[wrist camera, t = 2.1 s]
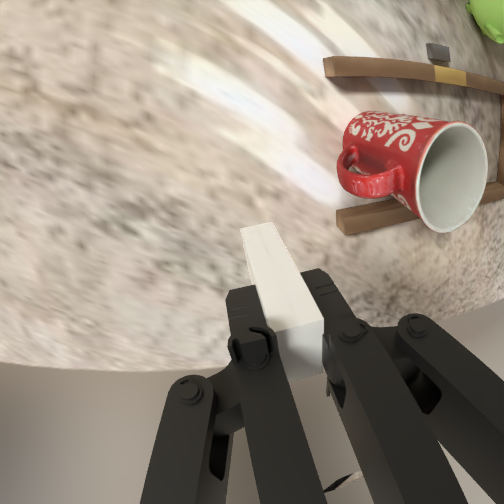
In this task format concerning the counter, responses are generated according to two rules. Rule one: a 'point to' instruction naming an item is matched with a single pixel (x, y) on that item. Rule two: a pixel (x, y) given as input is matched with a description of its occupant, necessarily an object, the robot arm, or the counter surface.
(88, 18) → the counter surface
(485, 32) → the teapot
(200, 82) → the counter surface
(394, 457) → the robot arm
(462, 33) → the counter surface
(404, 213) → the beam slot
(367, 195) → the mug
